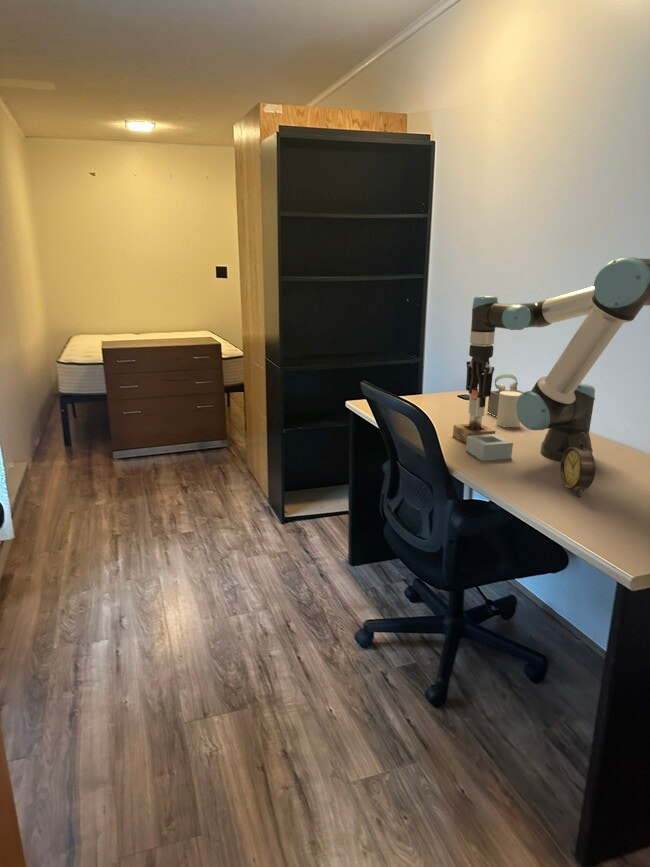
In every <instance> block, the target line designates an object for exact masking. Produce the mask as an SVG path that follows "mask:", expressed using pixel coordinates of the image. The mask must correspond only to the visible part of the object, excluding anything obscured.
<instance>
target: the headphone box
mask: <svg viewBox="0 0 650 867" xmlns="http://www.w3.org/2000/svg"><path fill="white" fill-rule="evenodd" d="M505 390H506V391H510V389H508V390H507V389H505ZM516 392H520V393H522V394H523V393H525V392H524V391H522V390H518V389H517V390H516ZM499 394H500V392H499V390H491V395H490V396H488V401H487V412H489V413H491V414H493V415H495V416H497V414H498V404H499Z"/></svg>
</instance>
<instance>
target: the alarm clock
mask: <svg viewBox="0 0 650 867" xmlns="http://www.w3.org/2000/svg"><path fill="white" fill-rule="evenodd" d="M581 434H584V435H585V443H581V441H580V436H581ZM579 441H580V447H579V448H575V447H570V448H568V449H567V450H566V451H565V452H564V454H563V456H562V459H561V460H560V466H559V467H560V470H559V471H560V478H561V481H562V483H563V486H564V487H565V488H567V489H568V490H577V491H576V492H577V496H578V498H581V497H582V495H581V491H583V492H585V490H587V489H588V488H589V487H591V485H592V484H593V482H594V480H595V477H596V470H597V469H596V468H597V467H596V460H595V457H594V455H593V453H591V452H590V451H589V450H588V449H586V448H583V445H585V444H586V441H587V437H586V434H585V433H583V432H582V433H580V435H579Z"/></svg>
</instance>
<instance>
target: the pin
mask: <svg viewBox="0 0 650 867" xmlns="http://www.w3.org/2000/svg"><path fill="white" fill-rule="evenodd" d="M477 396H479V388H477V389H472V395H471V407H470V413H469V422H468V424H469V430H471V431H474V430H481V424H482V425H483V423H482V422H483V421H482V420H483V416H480V417H476V405H477Z"/></svg>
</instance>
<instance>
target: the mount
mask: <svg viewBox="0 0 650 867" xmlns="http://www.w3.org/2000/svg"><path fill="white" fill-rule="evenodd" d="M487 434H496V430H494V429H492V428H491V427H489V426H486V425H484V424H483V423H482V424H481V430H474V431H471V430H469V423H463V424H453V431H452V437H454V436H455V437H457V438H459V439H460V440H462V441H463V443H464V442H465V443H464V444H466V445H467V436H474V435H487ZM455 437H454V438H455ZM457 438H456V439H457ZM459 439H458V440H459ZM460 440H459V441H460ZM462 441H461V442H462Z"/></svg>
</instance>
